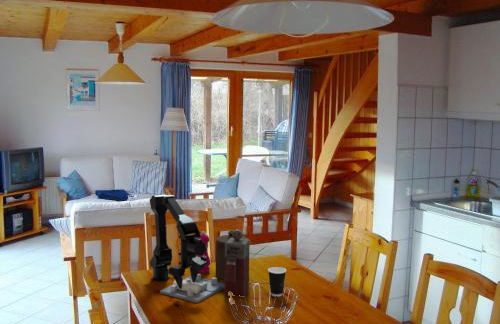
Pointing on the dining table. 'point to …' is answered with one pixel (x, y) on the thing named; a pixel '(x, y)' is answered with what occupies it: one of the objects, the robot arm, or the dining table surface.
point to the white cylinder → (189, 287)
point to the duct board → (196, 296)
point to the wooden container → (222, 254)
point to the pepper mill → (205, 240)
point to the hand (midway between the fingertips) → (187, 285)
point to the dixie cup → (276, 280)
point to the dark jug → (237, 265)
